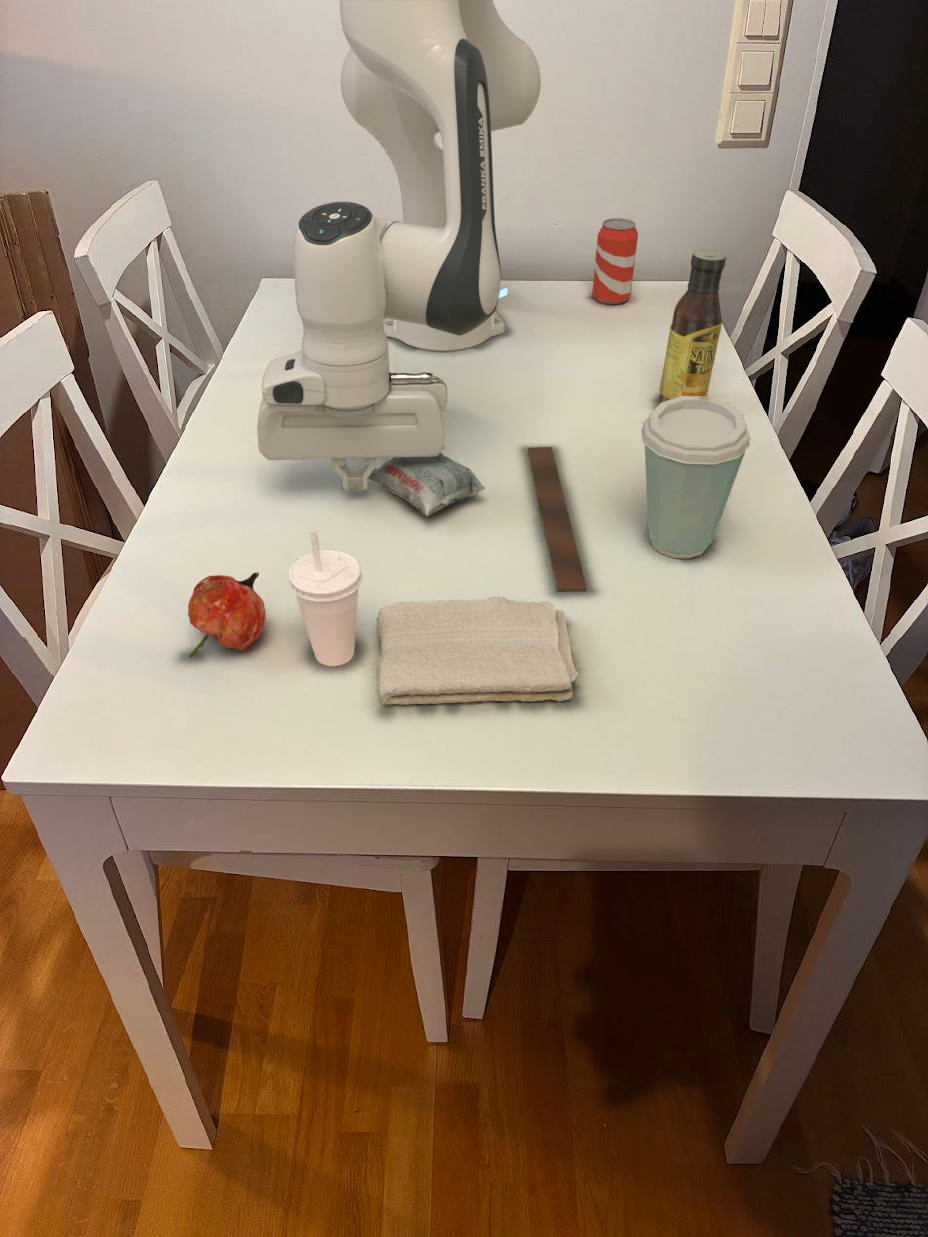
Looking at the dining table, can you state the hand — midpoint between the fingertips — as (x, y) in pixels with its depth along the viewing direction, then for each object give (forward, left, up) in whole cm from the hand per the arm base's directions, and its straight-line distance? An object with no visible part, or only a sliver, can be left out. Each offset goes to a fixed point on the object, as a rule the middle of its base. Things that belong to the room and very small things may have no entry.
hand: (356, 487), depth 106 cm
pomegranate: (+24, -11, -2) cm, 27 cm away
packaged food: (0, +8, -2) cm, 8 cm away
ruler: (+4, +22, -2) cm, 23 cm away
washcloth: (+28, +12, -2) cm, 30 cm away
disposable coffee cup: (+10, +35, -2) cm, 36 cm away
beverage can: (-58, +40, -2) cm, 70 cm away
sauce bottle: (-21, +43, -2) cm, 48 cm away
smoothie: (+26, -1, -2) cm, 26 cm away
